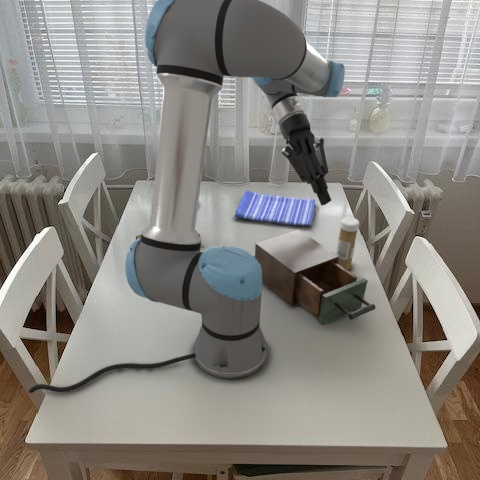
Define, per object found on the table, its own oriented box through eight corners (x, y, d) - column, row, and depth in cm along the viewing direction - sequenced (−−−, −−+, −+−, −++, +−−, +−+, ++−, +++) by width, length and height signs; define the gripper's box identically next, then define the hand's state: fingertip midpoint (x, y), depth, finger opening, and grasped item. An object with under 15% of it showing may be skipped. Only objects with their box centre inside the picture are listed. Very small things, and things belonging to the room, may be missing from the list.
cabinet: (333, 289, 123) (339, 256, 117) (291, 306, 117) (294, 272, 111) (295, 261, 133) (298, 229, 127) (253, 275, 127) (255, 243, 121)
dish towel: (244, 196, 164) (245, 188, 162) (315, 204, 160) (316, 196, 158) (233, 220, 151) (233, 211, 149) (310, 229, 147) (311, 220, 145)
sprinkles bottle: (354, 267, 131) (363, 222, 122) (341, 272, 129) (350, 226, 120) (342, 260, 134) (350, 215, 125) (330, 264, 132) (337, 219, 123)
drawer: (380, 321, 112) (387, 293, 107) (339, 340, 106) (345, 311, 101) (321, 278, 125) (325, 252, 120) (282, 293, 119) (284, 266, 114)
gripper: (278, 115, 121) (315, 203, 121) (318, 107, 127) (353, 191, 127) (265, 131, 128) (299, 214, 128) (303, 123, 134) (336, 202, 134)
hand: (326, 203), depth 128 cm, fingers closed
